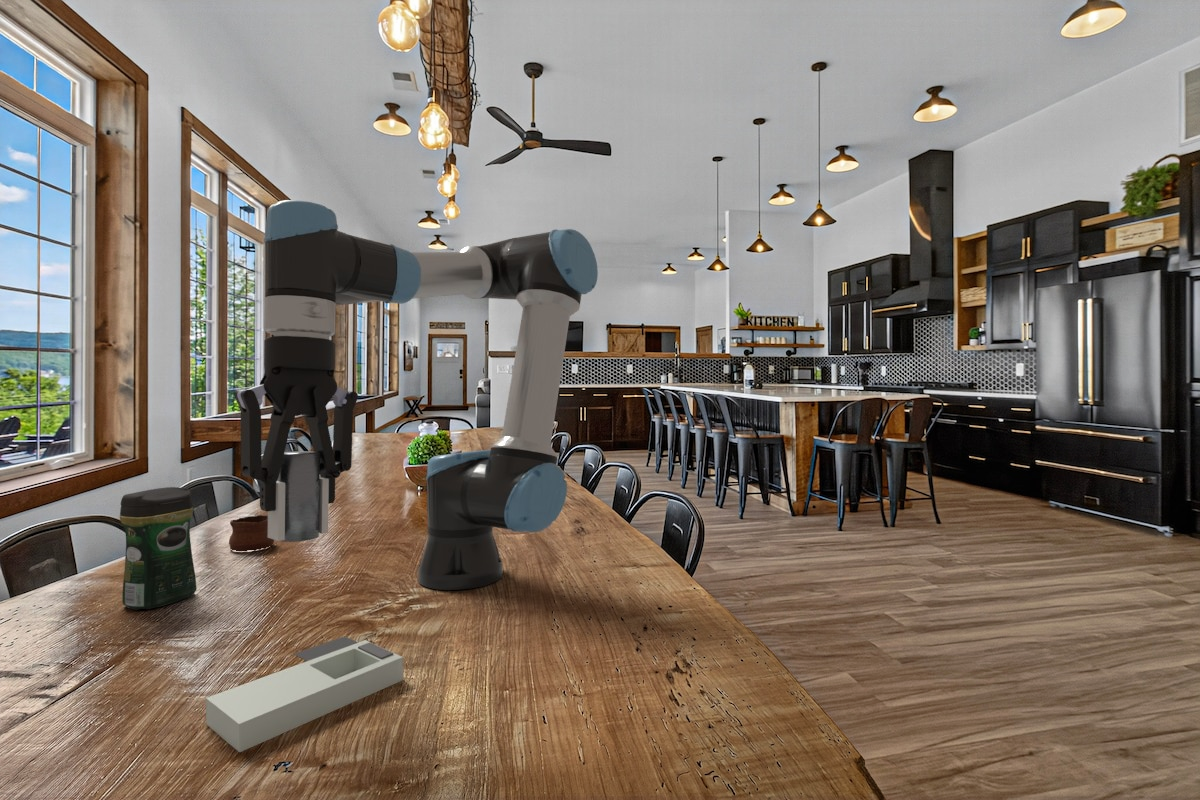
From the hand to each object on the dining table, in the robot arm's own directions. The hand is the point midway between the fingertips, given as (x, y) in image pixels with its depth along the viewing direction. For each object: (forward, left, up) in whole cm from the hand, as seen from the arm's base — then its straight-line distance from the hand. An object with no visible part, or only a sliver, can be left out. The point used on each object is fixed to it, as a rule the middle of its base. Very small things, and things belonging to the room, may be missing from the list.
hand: (298, 534), depth 72 cm
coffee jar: (-47, -1, -18) cm, 50 cm away
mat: (-5, +6, -18) cm, 19 cm away
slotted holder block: (+5, -1, -18) cm, 19 cm away
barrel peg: (0, 0, 0) cm, 0 cm away
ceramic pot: (-69, +23, -18) cm, 75 cm away
